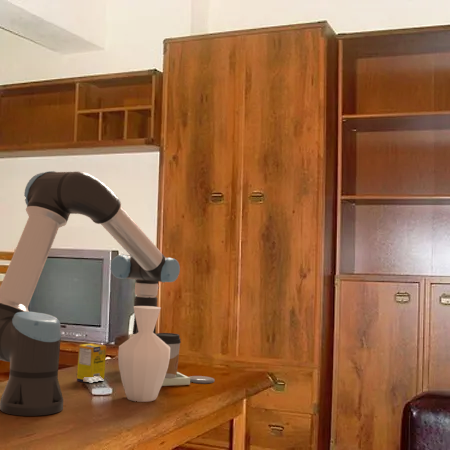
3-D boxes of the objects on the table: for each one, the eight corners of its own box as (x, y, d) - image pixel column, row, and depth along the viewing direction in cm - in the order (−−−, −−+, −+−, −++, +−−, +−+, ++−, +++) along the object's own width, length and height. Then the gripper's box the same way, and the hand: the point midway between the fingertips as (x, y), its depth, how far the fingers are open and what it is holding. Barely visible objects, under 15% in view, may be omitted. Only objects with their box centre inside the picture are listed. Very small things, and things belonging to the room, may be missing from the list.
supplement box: (104, 381, 211) (106, 345, 211) (90, 384, 206) (93, 347, 206) (90, 378, 214) (92, 342, 214) (76, 381, 209) (78, 344, 209)
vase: (155, 406, 182) (161, 311, 183) (106, 400, 186) (112, 306, 187) (175, 396, 196) (180, 307, 197) (129, 390, 200) (134, 303, 201)
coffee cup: (174, 387, 208) (177, 337, 208) (147, 385, 209) (150, 335, 210) (181, 382, 216) (183, 334, 216) (155, 380, 217) (157, 331, 218)
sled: (150, 386, 206) (152, 345, 206) (122, 370, 228) (124, 334, 228) (189, 384, 212) (192, 345, 212) (159, 369, 234) (161, 333, 234)
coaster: (193, 384, 214) (193, 382, 214) (181, 378, 222) (181, 376, 222) (219, 382, 219) (219, 380, 219) (206, 377, 227) (206, 375, 227)
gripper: (168, 299, 224) (164, 370, 223) (145, 293, 242) (141, 359, 241) (147, 298, 220) (142, 370, 219) (124, 293, 239) (120, 359, 238)
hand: (142, 364), depth 230 cm, fingers open, 8 cm apart
